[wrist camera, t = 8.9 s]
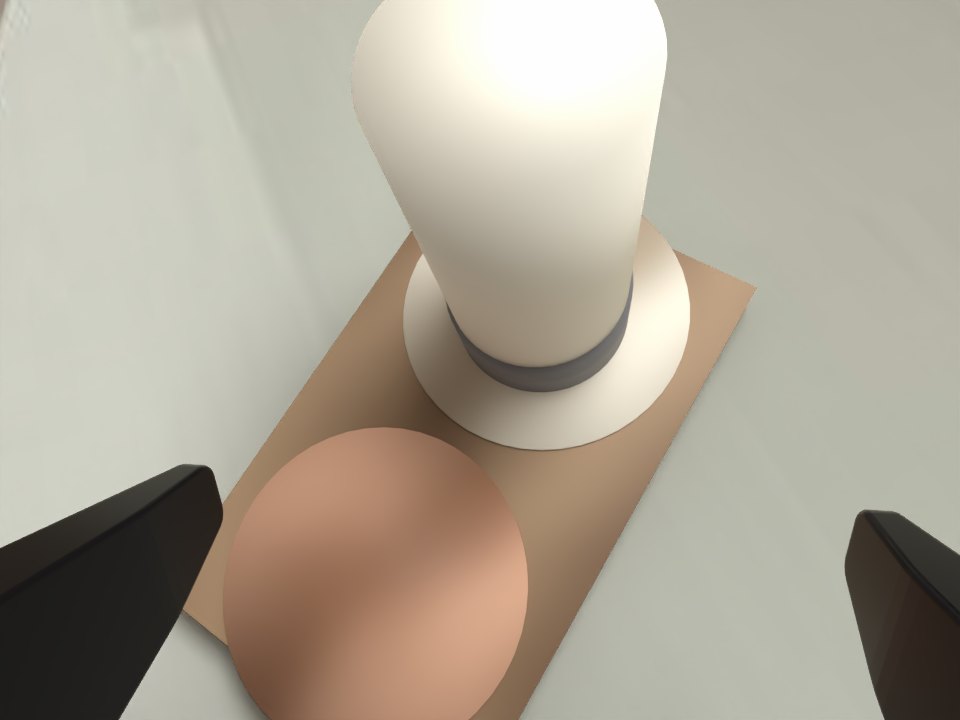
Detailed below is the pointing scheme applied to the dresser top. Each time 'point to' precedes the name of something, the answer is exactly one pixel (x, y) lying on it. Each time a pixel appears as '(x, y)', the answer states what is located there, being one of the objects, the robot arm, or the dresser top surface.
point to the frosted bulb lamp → (519, 166)
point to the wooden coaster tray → (446, 502)
